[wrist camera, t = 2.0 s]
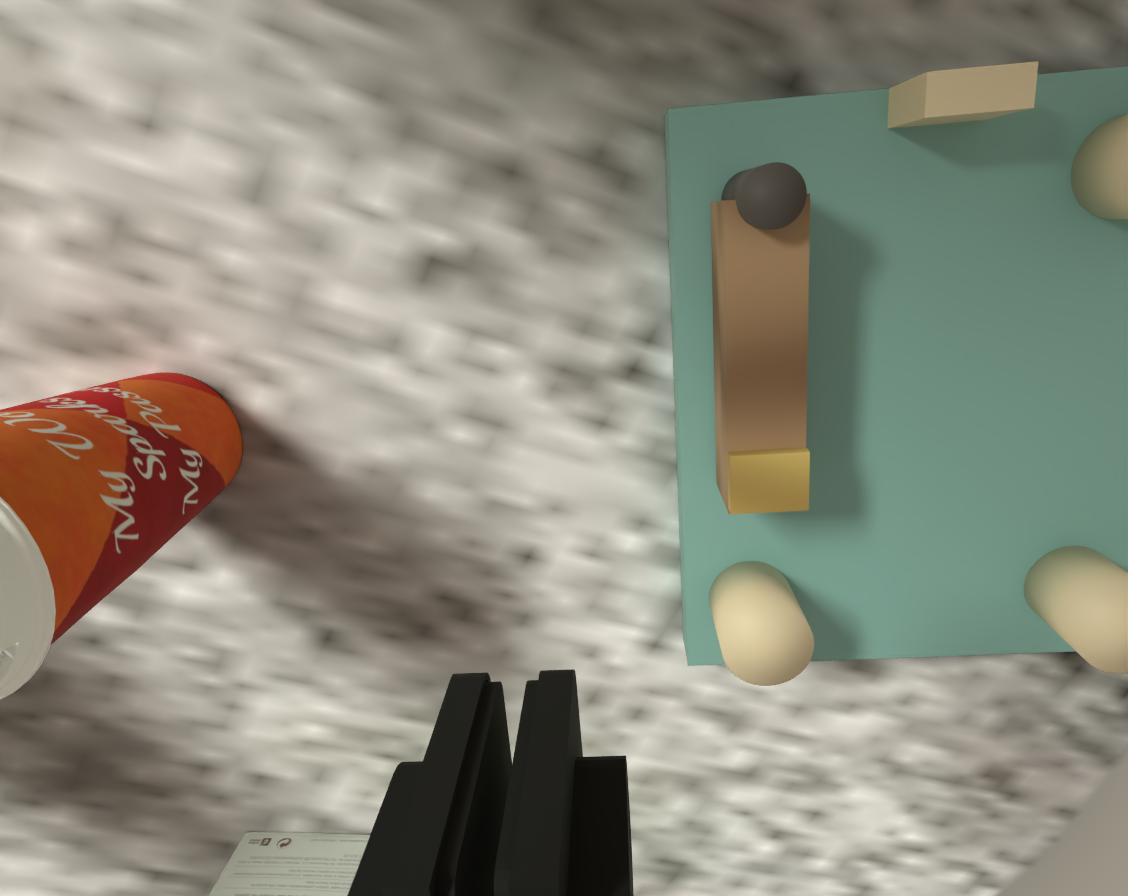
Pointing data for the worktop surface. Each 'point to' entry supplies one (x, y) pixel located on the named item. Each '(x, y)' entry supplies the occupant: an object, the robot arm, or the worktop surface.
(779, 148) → the stool seat
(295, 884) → the supplement box
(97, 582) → the paper cup
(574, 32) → the worktop surface
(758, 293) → the folding leg
